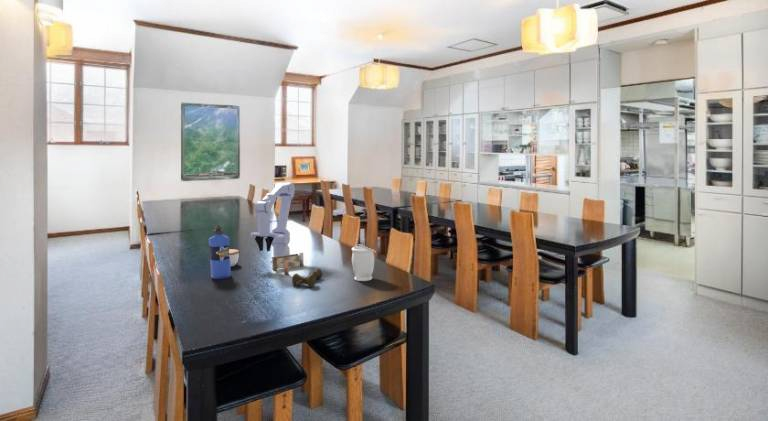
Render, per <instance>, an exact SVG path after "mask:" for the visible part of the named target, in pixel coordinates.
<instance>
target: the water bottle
mask: <svg viewBox="0 0 768 421" xmlns="http://www.w3.org/2000/svg"><path fill="white" fill-rule="evenodd" d="M213 229H214V230H213V234H214V235H213V236H211V237H209V238H208V246H209V252H210V259H209V261H210V262H209V264H210V278H211V279H213V280H221V279H222V280H223V279H227V278H230V277H232V272H231V271H232V270H231V269H232V267H230V256H229V249H230V237H229V236H228V235H226V234H224V230H223V227H222V226H221V225H219V224H218V225H217V224H216V225H215V227H214V228H213Z"/></svg>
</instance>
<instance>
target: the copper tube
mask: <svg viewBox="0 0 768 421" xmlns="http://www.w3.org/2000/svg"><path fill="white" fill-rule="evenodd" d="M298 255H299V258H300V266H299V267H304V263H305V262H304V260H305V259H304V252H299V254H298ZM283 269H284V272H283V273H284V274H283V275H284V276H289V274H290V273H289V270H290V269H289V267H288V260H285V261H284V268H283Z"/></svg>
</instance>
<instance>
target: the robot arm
mask: <svg viewBox="0 0 768 421" xmlns="http://www.w3.org/2000/svg"><path fill="white" fill-rule="evenodd" d="M295 190H296V188H295V184H294V183H293V182H278V181H277V182H276V183H274V186H273V190H272V191H271V193H266V194H265V195H264V197H263V198H262V199H261V200H259V201H257V202H256V203H255V205H254V211H255V213H256V216H257V231H258V232H255V231H254V232H250V238H253V237H254V241H255V242H256V244H257V246H258V250H259V252H262V251H264V240H265V244H266V252H270V251H271V248H272V251H273V252H272V253H273V257H276V256H284V255H291V254H290V247H289V244H290V241H291V237H290V236H291V234H290V231H289V230H288V229H287V227H288V226H287V225H288V220H289V219H288V218H289V215H290V214H289V212H290V208H291V203H292V200H293V199H294V197H295V192H296V191H295ZM277 198H278V199H280V200H281V202H280V208H279V213H278V219H277V224H276V227H275V228H274V229H272V230H271V228H270V225H271V224H270V223H271V222H270V213H271V211H272V207H273V205H274V204H275V203H276V201H277ZM270 263H272V260H271V261H270Z"/></svg>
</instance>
